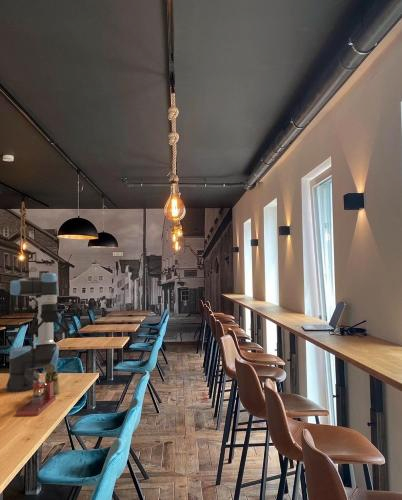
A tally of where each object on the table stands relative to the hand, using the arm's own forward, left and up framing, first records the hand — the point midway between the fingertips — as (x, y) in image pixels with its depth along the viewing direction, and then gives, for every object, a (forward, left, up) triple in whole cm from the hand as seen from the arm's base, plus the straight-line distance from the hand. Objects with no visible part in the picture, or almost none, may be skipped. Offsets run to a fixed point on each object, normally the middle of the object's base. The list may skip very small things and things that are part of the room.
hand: (49, 347), depth 212 cm
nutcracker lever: (+2, -6, -17) cm, 18 cm away
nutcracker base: (+1, -6, -29) cm, 29 cm away
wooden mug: (-22, -7, -29) cm, 37 cm away
